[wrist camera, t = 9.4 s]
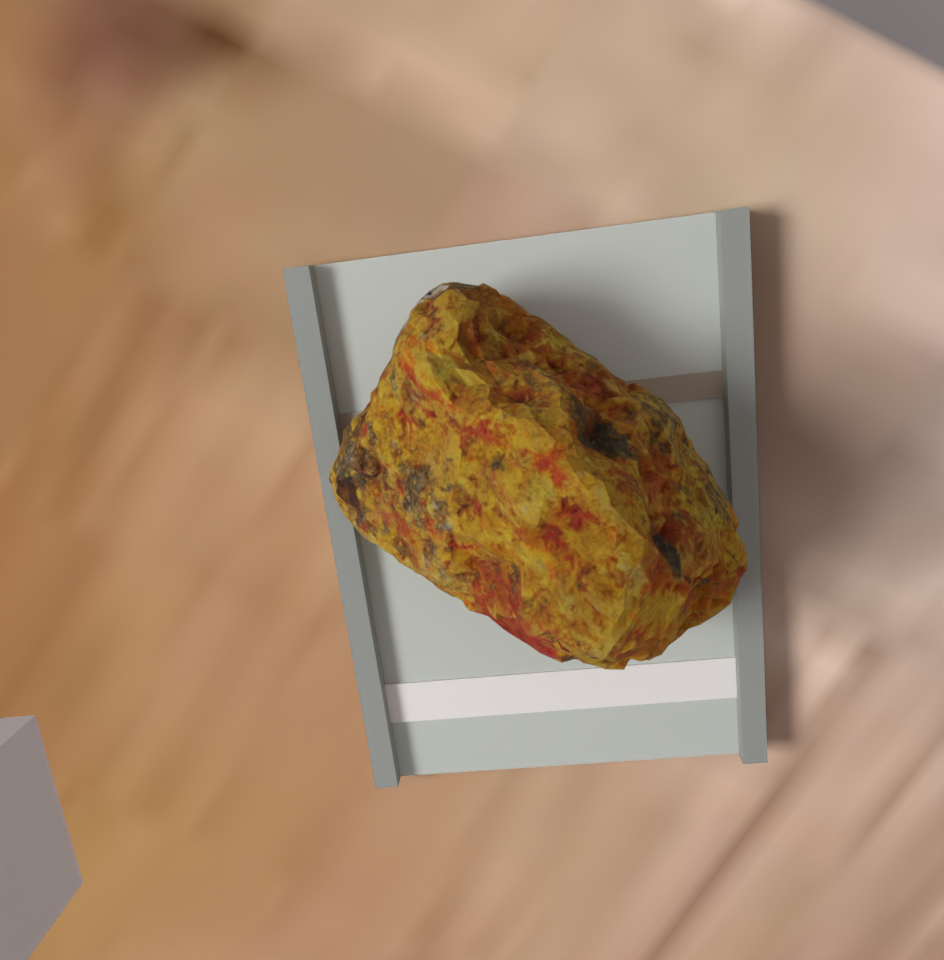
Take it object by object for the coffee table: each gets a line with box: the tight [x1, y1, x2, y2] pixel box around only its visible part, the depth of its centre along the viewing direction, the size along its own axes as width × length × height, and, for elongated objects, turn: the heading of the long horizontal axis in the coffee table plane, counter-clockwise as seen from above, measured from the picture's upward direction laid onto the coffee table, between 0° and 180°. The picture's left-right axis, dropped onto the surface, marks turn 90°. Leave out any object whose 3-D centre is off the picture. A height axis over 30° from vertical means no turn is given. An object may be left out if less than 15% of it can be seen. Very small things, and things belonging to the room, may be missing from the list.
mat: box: [282, 207, 768, 788], centre depth 25 cm, size 14×18×1 cm
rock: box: [329, 282, 748, 670], centre depth 22 cm, size 11×8×10 cm
